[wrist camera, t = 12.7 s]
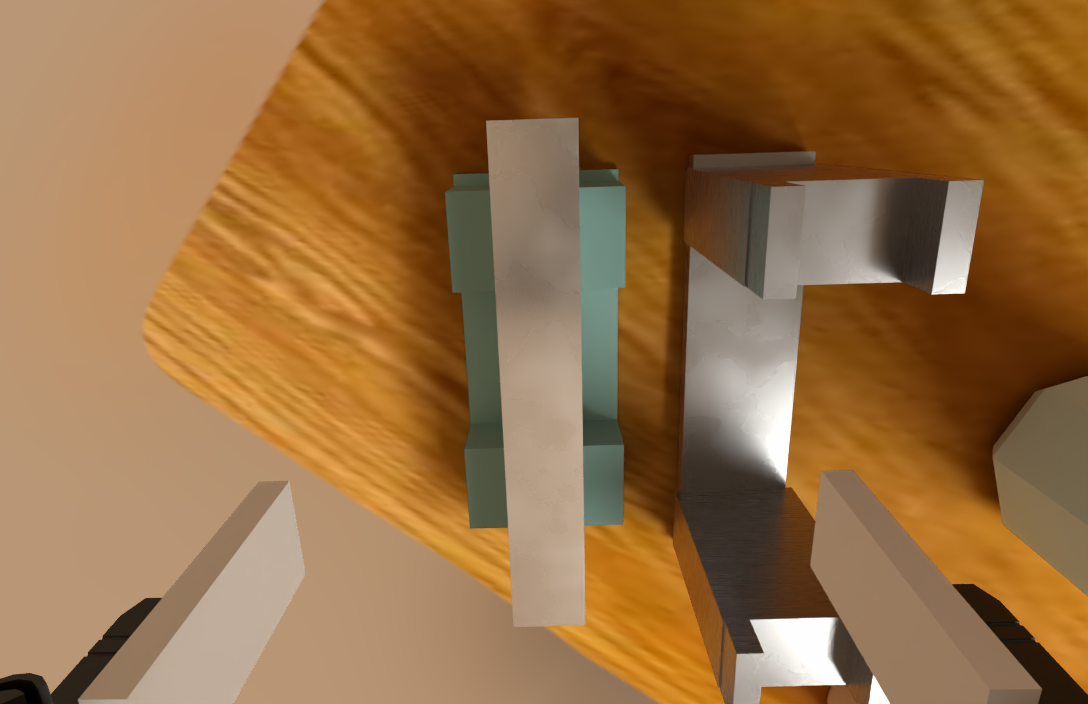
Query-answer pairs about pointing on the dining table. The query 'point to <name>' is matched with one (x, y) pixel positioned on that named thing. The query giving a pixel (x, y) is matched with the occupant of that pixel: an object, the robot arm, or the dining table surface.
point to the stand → (781, 389)
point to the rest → (598, 340)
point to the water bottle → (1048, 477)
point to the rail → (540, 361)
